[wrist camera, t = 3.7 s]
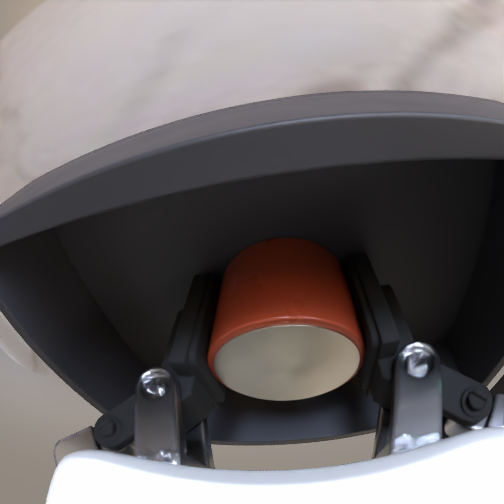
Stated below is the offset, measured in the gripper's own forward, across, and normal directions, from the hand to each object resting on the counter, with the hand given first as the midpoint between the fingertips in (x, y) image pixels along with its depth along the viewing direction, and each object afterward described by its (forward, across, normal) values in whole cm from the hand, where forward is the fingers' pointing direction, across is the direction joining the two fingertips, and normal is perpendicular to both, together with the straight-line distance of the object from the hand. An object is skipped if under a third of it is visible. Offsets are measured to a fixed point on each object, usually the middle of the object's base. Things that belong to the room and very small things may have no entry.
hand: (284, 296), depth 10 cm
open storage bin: (+1, 0, 0) cm, 1 cm away
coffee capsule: (0, 0, 0) cm, 0 cm away
